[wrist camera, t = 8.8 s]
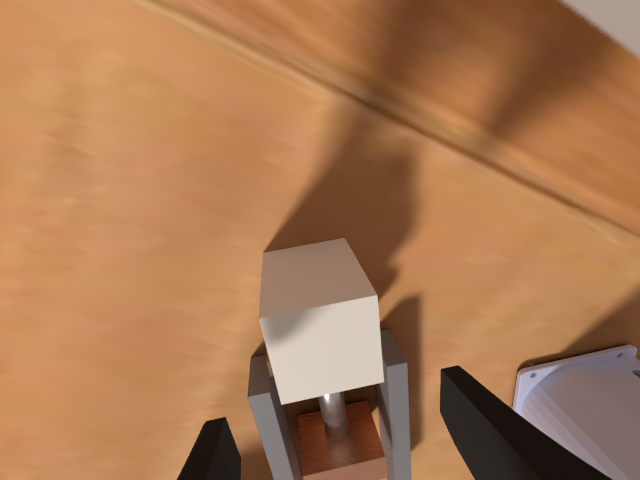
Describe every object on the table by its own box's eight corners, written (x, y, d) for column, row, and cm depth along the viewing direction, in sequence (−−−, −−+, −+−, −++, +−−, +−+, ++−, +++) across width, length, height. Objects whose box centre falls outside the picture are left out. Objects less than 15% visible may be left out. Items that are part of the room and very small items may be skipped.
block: (344, 237, 18) (377, 294, 12) (352, 305, 19) (384, 382, 14) (262, 252, 17) (258, 318, 12) (278, 320, 19) (281, 404, 14)
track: (389, 328, 20) (407, 362, 18) (397, 463, 26) (412, 505, 23) (250, 357, 20) (247, 397, 17) (289, 489, 25) (292, 535, 23)
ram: (364, 305, 19) (386, 351, 16) (375, 417, 23) (395, 475, 20) (267, 325, 19) (266, 377, 15) (295, 436, 23) (299, 498, 19)
